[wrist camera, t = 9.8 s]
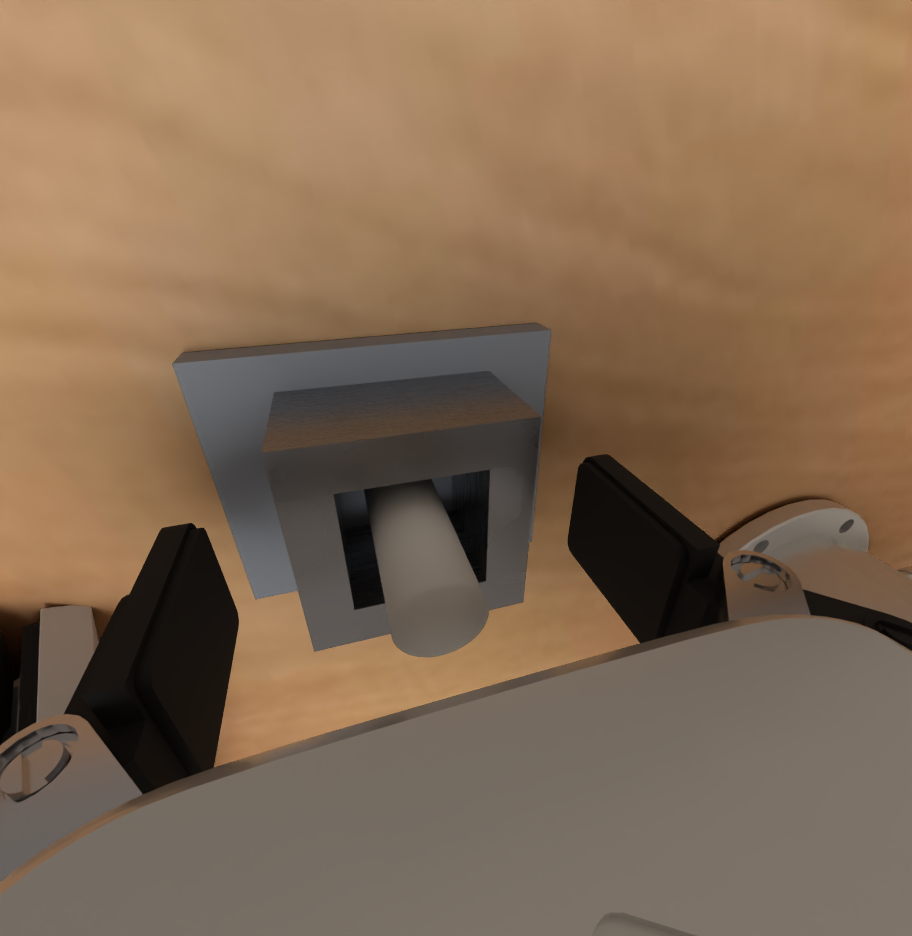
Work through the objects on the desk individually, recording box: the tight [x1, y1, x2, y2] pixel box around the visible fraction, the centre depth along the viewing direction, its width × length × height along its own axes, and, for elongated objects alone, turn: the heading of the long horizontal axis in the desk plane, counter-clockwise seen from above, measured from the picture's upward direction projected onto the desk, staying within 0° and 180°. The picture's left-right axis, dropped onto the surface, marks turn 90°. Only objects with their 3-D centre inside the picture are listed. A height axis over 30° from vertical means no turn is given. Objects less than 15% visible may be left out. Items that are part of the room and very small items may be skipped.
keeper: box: [172, 323, 551, 657], centre depth 12 cm, size 10×8×7 cm
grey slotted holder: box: [0, 605, 99, 745], centre depth 14 cm, size 17×5×10 cm, turn 168°
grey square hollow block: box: [261, 371, 541, 652], centre depth 12 cm, size 6×6×4 cm
